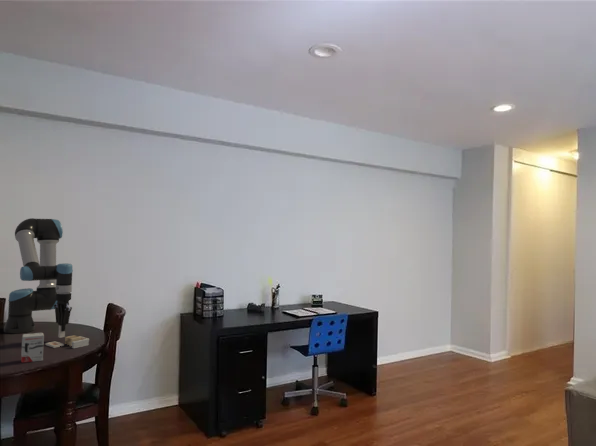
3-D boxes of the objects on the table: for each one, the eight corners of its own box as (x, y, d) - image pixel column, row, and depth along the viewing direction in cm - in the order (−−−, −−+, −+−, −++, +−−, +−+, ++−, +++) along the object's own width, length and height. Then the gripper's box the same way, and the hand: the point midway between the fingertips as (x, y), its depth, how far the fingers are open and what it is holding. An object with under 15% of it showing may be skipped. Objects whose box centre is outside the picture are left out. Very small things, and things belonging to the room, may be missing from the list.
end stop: (71, 347, 228) (71, 341, 228) (86, 344, 235) (86, 338, 235) (73, 348, 227) (74, 342, 227) (88, 345, 234) (88, 339, 234)
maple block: (64, 344, 234) (65, 337, 234) (74, 342, 238) (74, 335, 238) (71, 346, 230) (71, 339, 230) (80, 344, 235) (81, 337, 235)
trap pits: (45, 345, 231) (45, 343, 231) (80, 338, 247) (80, 336, 247) (54, 347, 227) (54, 345, 227) (89, 340, 243) (89, 338, 243)
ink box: (21, 363, 202) (22, 336, 202) (20, 360, 206) (22, 334, 206) (43, 360, 206) (44, 334, 206) (42, 357, 210) (43, 332, 210)
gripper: (49, 292, 241) (47, 336, 241) (63, 295, 234) (61, 340, 234) (63, 290, 247) (61, 333, 247) (77, 293, 240) (75, 337, 240)
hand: (61, 337), depth 240 cm, fingers closed
